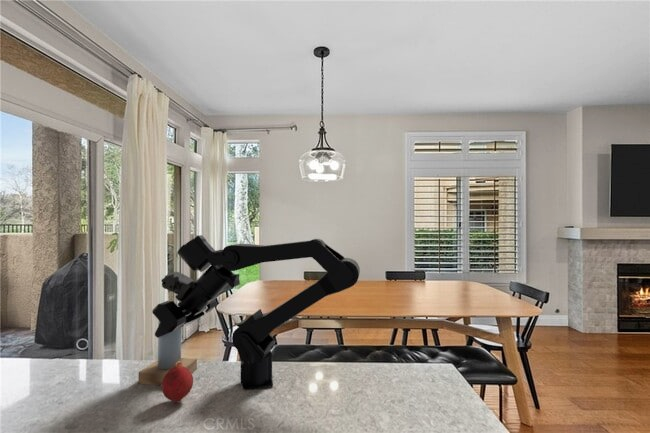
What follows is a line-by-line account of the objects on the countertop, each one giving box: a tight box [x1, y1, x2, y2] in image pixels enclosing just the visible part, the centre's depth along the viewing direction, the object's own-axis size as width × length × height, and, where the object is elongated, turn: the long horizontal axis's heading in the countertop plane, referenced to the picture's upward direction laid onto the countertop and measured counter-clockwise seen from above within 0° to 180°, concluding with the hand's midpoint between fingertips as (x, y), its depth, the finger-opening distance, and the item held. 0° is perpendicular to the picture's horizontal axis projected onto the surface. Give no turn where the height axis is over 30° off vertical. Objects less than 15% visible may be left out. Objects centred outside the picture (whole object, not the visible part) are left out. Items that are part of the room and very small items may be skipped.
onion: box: [161, 361, 194, 403], centre depth 70 cm, size 6×6×8 cm
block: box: [138, 357, 198, 386], centre depth 81 cm, size 9×9×2 cm
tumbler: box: [157, 320, 183, 370], centre depth 82 cm, size 5×5×13 cm
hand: (164, 331), depth 82 cm, fingers open, 6 cm apart
